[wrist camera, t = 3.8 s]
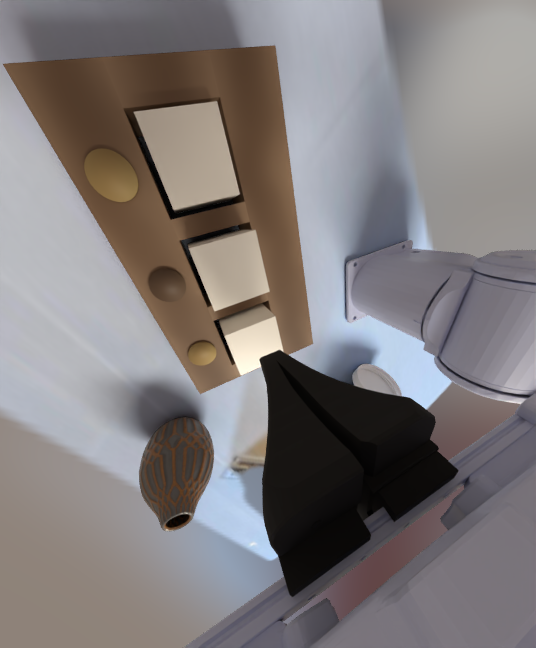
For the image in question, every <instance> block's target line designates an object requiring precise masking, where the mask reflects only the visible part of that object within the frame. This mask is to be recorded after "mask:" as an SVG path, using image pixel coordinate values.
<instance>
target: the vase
mask: <svg viewBox="0 0 536 648" xmlns="http://www.w3.org/2000/svg"><path fill="white" fill-rule="evenodd" d="M213 462H214V449H213V443H212V439H211V436H210V434H209V432H208V430H207V429H206V427H205V426H204V425H203V424H202V423H201V422H199V421H198V420H195V419H192V418H187V417H182V418H177V419H174V420H171V421H169V422H168V423H166V424H164V425H163V426H162V427H160V428H159V429H158V430H157V431H156V432H155V433H154V434H153V436H152V437H151V439H150V440H149V442H148V444H147V446H146V448H145V450H144V453H143V456H142V460H141V464H140V470H139V482H140V489H141V493H142V496H143V498H144V500H145V502H146V503H147V505H148V506H149V507H150V508H151V509H152V511H153V512H154V513H155V514H156V516H157V517H158V519H159V522H160V525H161V528H162V529H163V530H164V531H174V530H177V529H180V528H182V527H184V526H186V525H187V524H188V523H189V522H190V521H191V520H192V519H193V516H194V513H195V509H196V506H197V504H198V501H199V500H200V498H201V496H202V494H203V492H204V490H205V488H206V486H207V484H208V482H209V480H210V477H211V473H212V469H213Z"/></svg>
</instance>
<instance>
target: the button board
mask: <svg viewBox="0 0 536 648" xmlns="http://www.w3.org/2000/svg"><path fill="white" fill-rule="evenodd" d="M3 65H4V67H5V69H6V70H7V72H8V74H9V75H10V77H11V79H12V80H13V82H14V84H15V85H16V87H17V89H18V90H19V92H20V94H21V95H22V97H23V99H24V101H25V102H26V104H27V106H28V107H29V109H30V111H31V112H32V114H33V116H34V117H35V119H36V121H37V122H38V124H39V126H40V127H41V129H42V131H43V132H44V134H45V136H46V137H47V139H48V141H49V142H50V144H51V146H52V147H53V149H54V151H55V152H56V154H57V156H58V157H59V159H60V161H61V162H62V164H63V166H64V167H65V169H66V171H67V172H68V174H69V176H70V177H71V179H72V181H73V182H74V184H75V186H76V187H77V189H78V191H79V192H80V194H81V196H82V197H83V199H84V201H85V202H86V204H87V206H88V208H89V209H90V211H91V213H92V214H93V216H94V218H95V219H96V221H97V223H98V224H99V226H100V228H101V229H102V231H103V233H104V234H105V236H106V238H107V239H108V241H109V243H110V244H111V246H112V248H113V249H114V251H115V253H116V254H117V256H118V258H119V259H120V261H121V263H122V264H123V266H124V268H125V269H126V271H127V273H128V274H129V276H130V278H131V279H132V281H133V283H134V284H135V286H136V288H137V289H138V291H139V293H140V294H141V296H142V298H143V299H144V301H145V303H146V304H147V306H148V308H149V309H150V311H151V313H152V315H153V316H154V318H155V320H156V321H157V323H158V325H159V326H160V328H161V330H162V331H163V333H164V335H165V336H166V338H167V340H168V341H169V343H170V345H171V346H172V348H173V350H174V351H175V353H176V355H177V356H178V358H179V360H180V361H181V363H182V365H183V366H184V368H185V370H186V371H187V373H188V375H189V376H190V378H191V380H192V381H193V383H194V385H195V386H196V388H197V390H198V391H199V393H200V394H201V393H204V392H206V391H208V390H210V389H213V388H215V387H217V386H219V385H222V384H224V383H226V382H228V381H231V380H233V379H235V378H237V377H240V376H242V375H240V373H239V370H238V368H237V366H236V363H235V361H234V358H233V356H232V353H231V351H230V348H229V346H228V345H226V346H225V344H224V342H223V339H222V337H221V334H220V332H219V330H218V327H217V325H216V323H215V320H217V319H220V318H222V317H225V316H228V315H231V314H233V313H236V312H239V311H241V310H244V309H247V308H249V307H252V306H255V305H258V304H260V303H262V304H263V305H264V306H265V307H266V308H268V309H269V310H270V311H271V312H272V313H273V314H274V315H275V317H276V321H277V325H278V330H279V334H280V338H281V343H282V347H283V352H284V353H286V354H287V355H289V354H291V353H293V352H296V351H298V350H300V349H302V348H305V347H307V346H309V345H311V344H313V340H312V332H311V325H310V317H309V309H308V301H307V293H306V285H305V277H304V269H303V261H302V253H301V245H300V238H299V230H298V222H297V214H296V206H295V198H294V190H293V182H292V174H291V166H290V158H289V150H288V143H287V135H286V127H285V119H284V111H283V103H282V95H281V87H280V79H279V71H278V63H277V56H276V48H275V46H261V47H246V48H232V49H217V50H202V51H187V52H172V53H157V54H142V55H127V56H113V57H98V58H83V59H68V60H53V61H38V62H23V63H8V64H3ZM215 101H217V103H218V107H219V111H220V115H221V119H222V123H223V128H224V132H225V136H226V140H227V144H228V148H229V152H230V156H231V160H232V164H233V168H234V172H235V176H236V180H237V184H238V189H239V193H240V194H239V195H238V196H236V197H234V198H233V199H232V202H233V205H229V206H225V207H221V208H216V209H212V210H208V211H204V212H200V213H196V214H192V215H188V216H184V217H180V218H176V219H172V217H171V215H170V213H169V210H168V208H167V205H166V203H165V201H164V198H163V196H162V194H161V191H160V189H159V186H158V184H157V182H156V179H155V177H154V174H153V172H152V170H151V167H150V165H149V162H148V160H147V158H146V155H145V153H144V151H143V148H142V146H141V143H140V141H139V139H138V137H142V136H143V134H142V131H141V129H140V126H139V124H138V121H137V119H136V117H135V114H134V112H136V111H144V110H151V109H159V108H167V107H175V106H183V105H191V104H199V103H207V102H215ZM236 225H239V229H243V230H256V234H257V238H258V243H259V247H260V251H261V256H262V260H263V264H264V269H265V273H266V277H267V282H268V286H269V291H270V292H267V293H265V294H262V295H259V296H256V297H254V298H251V299H248V300H245V301H242V302H240V303H237V304H234V305H231V306H229V307H226V308H223V309H220V310H217V311H215V312H214V309H213V307H212V304H211V302H210V299H209V297H208V294H207V293H206V294H203V291H202V289H201V287H200V284H199V282H198V280H197V277H196V275H195V272H194V270H193V268H192V265H191V263H190V260H189V258H188V256H187V253H186V251H185V248H184V246H183V244H182V241H181V240H184V239H188V238H192V237H195V236H199V235H203V234H206V233H210V232H214V231H217V230H221V229H225V228H228V227H232V226H236ZM259 368H260V367H259ZM257 369H258V368H257ZM250 372H251V371H250ZM248 373H249V372H248Z"/></svg>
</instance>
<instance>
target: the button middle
mask: <svg viewBox="0 0 536 648" xmlns="http://www.w3.org/2000/svg"><path fill="white" fill-rule="evenodd" d="M188 247H189V250H190V253H191V255H192V258H193V260H194V263H195V265H196V267H197V270H198V272H199V275H200V277H201V280H202V282H203V285H204V287H205V290H206V292H207V294H208V297H209V299H210V302H211V304H212V307H213V309H214V312H215V311H217V310H220V309H223V308H226V307H229V306H231V305H234V304H237V303H240V302H242V301H245V300H248V299H251V298H254V297H256V296H259V295H262V294H265V293H267V292H270V291H269V286H268V282H267V277H266V273H265V269H264V264H263V260H262V256H261V251H260V247H259V243H258V238H257V234H256V230H243V229H239V230H236V231H232V232H228V233H225V234H221V235H218V236H214V237H210V238H207V239H203V240H200V241H196V242H192V243H189V244H188Z"/></svg>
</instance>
